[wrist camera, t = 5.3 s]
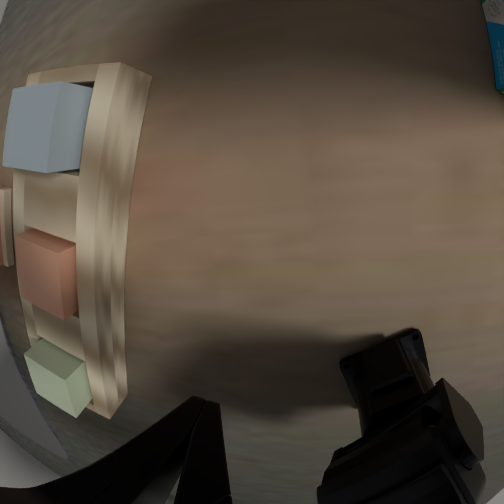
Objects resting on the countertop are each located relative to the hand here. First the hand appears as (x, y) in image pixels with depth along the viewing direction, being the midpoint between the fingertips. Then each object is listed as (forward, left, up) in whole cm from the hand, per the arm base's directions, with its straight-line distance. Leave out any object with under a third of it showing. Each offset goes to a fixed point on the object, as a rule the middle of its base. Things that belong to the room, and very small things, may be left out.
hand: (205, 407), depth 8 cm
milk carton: (+6, -27, -12) cm, 30 cm away
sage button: (-1, +19, -8) cm, 21 cm away
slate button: (+15, +6, -8) cm, 18 cm away
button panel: (+7, +13, -12) cm, 19 cm away
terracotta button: (+7, +13, -10) cm, 17 cm away
